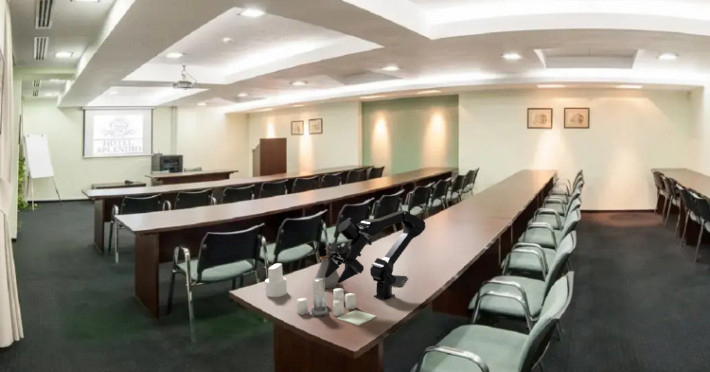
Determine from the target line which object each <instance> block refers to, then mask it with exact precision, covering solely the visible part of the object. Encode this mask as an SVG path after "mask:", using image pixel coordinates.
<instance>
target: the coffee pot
mask: <svg viewBox="0 0 710 372" xmlns="http://www.w3.org/2000/svg"><path fill="white" fill-rule="evenodd" d="M325 248H326V255H327V254H328V252H330V249H331V246H329V245H327V246H326V247H325ZM326 255H325V256H319V260H320V262H321V263H320V264H319V268H318V269H317V272H316V275H315V278H314V279H316V278H323V279H325V289H330V288H335V287H336V286H337V285H338V284H339V283H338V279H339V278H340V276H339V274H338V271H337V270H336V271H334V272H333V273H332V274H331V275H330V276H329V277H327V278H326V277H325V273H326V270H327V267H328V259H327V256H326Z"/></svg>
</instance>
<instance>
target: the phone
mask: <svg viewBox="0 0 710 372" xmlns="http://www.w3.org/2000/svg"><path fill="white" fill-rule="evenodd" d="M392 275H393V274H392ZM393 276H394V277H395V278H396V281H395V283H394V284H392V286H398V287H397V288H401V287H400V286H402V285H403V286H404V284H405V283H404V282H406V281H407V280H406V278H407V279H408V276H406V275H396V274H395V275H393ZM405 280H406V281H405ZM403 283H404V284H403ZM403 286H402V287H403Z"/></svg>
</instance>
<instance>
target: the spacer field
mask: <svg viewBox="0 0 710 372" xmlns="http://www.w3.org/2000/svg"><path fill="white" fill-rule="evenodd" d="M344 292H345V291H344V288H338V287H337V288H334V289H333V300H332V313H333V316H335V317H341V316H343V315H345V309H346V310H356V307H357V302H356V293H354V292H353V293H350V292H349V293H344ZM344 294H345V295H344ZM344 298H345V299H344ZM308 304H309V301H308V299H307V298H306V297H300V298H297V299H296V308H297V309H296V313H297V314H298V315H303V316H304V315H307V314H308V313H309V305H308ZM325 307H326V308H327V293H326V292H325Z"/></svg>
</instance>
